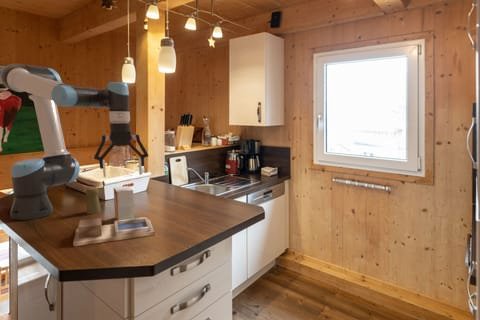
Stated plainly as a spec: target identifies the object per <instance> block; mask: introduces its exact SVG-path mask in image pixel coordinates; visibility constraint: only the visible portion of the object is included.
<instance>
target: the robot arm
mask: <svg viewBox="0 0 480 320" xmlns="http://www.w3.org/2000/svg"><path fill="white" fill-rule="evenodd" d="M0 81H1V83H2V84H3V86H5V87H6V88H7V89H9V90H11V91H14V92H18V93H23V92H25V93H27V96H28V98H29V99H30V100H31V101H33V105H34V108H35V113H36V117H37V118H36V119H37V123H38V127H39V132H40V135H41V136H40V137H41V141H42V147H43V150H44V155H42V157H41V158H37V157H36V158H28V159H23V160H19V161H17V162H14V163H13V164H12V165H11V168H10V169H11V170H10V171H11V172H10V173H11V174H10V176H11V182H12V190H13V191H12V192H13V202H12V204H11V205H12V206H11V209H10V211H9V212H10V213H9V214H10V215H9V216H10V219H11V220H16V221H27V220H36V219H39V218H44V217H46V216H49V215H51V214H52V213H54V207H53V205H52V203H51V201H50V199H49V196H48V193H47V188H50V187H55V186H61V185H65V184H69V183H73V182H74V181H76V180H77V178H78V176H79V174H80V163H79V161H78V160H77V158H75V157H72V153H71V152H70V151H68V150H67V148H66V143H65V139H64V133H63V130H62V123H61V120H60V114H59V109H58V107H64V108H74V107H75V108H94V109H101V108H103V109H104V108H108V111H109V112H108V113H109V114H108V115H109V122H110V124H109V130H110V135H105V134H103V135H101V142H100V143H99V146H98V148H97V150H96V152H95V155H94V157H93V159H94V160H97V161H98V162H99V168H100V169H101V170H102V172H103V178H107V177H106V176H107V175H106V160H105V157H106V156H107V155H108V154H109V153H110V151H111V150H113V148H114V147H126V146H129V148H131V149H132V151H134V152H135V153H136V154H137V156H138V157H139V158H138V173H139V176H141V175H142V174H143V170H142V167H144V166H145V159H146V158H148V157H149V153H148V151H147V150H146V148H145V146H144V144H143V143H142V141H141V139H140V135H139V134H137V133H136V134H133V135H132V134H131V123H129V122H131V115H130V114H131V113H130V92H129V86H128V84H127V83H126V82H122V81H110V82H108V83H107V88H95V87H87V86H86V87H85V86H77V85H76V86H74V85H71V84H66V83H63V82H62V79H61V76H60V74H59V73H58V72H57V71H56V70H55V69H53V68H50V67H46V66H38V65H30V64H23V63H11V64H7V65H5V67H3V68H2V69H1V71H0ZM132 139H133V140H134V141H136V142H137V144H138V146H139V148H140V149H141V151H142V153H143V154H142V153H141V152H140V151H139V149H137V148H136V147H135V146H134V145H133V143H131V141H132ZM108 140H110V141H111V143H110V145H109V146H108V147H107V148H106V150H105V151H104V152H103V153H102V154H101V151H102V149H103V147H104V146H105V144H106V143H105V142H107V141H108ZM100 154H101V155H100Z"/></svg>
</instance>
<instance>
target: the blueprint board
mask: <svg viewBox="0 0 480 320" xmlns="http://www.w3.org/2000/svg"><path fill="white" fill-rule="evenodd" d="M102 222H103V221H102V217H96V218H87V219H80V220H79V224H78V228H76V229H75V234H74V238H73V243H72V244H73V247H79V246H86V245H94V244H99V243H100V244H101V243H107V242H114V241H115V242H116V241H121V240H127V239H128V240H129V239H136V238H143V237H150V236H155V234H156V231H155V228H154V227H153V224H152V223H151V219H149V218H148V216H146V217H136V218H134V219H127V220H119V221H117V220H114V223H112V224H104V225H102Z"/></svg>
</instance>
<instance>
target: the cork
mask: <svg viewBox="0 0 480 320" xmlns="http://www.w3.org/2000/svg"><path fill="white" fill-rule="evenodd" d="M99 193H100V190H99V188H98V187H92V186H91V187H88V188H86V190H85V194H86V196H87V199H86V210H85V211H86V212H85V213H86V214H87V215H96V214H100V213H101V212H102V208H101V204H100V198H99Z"/></svg>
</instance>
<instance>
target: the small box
mask: <svg viewBox="0 0 480 320" xmlns="http://www.w3.org/2000/svg"><path fill="white" fill-rule="evenodd" d="M113 202H114V203H113V204H114V218H115V219H116V221H119V220H127V219H135V201H134V190H133V187H130V185H127V186H116V187H113Z"/></svg>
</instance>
